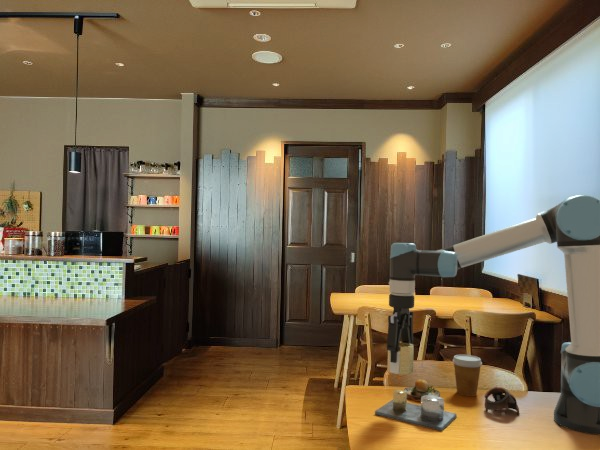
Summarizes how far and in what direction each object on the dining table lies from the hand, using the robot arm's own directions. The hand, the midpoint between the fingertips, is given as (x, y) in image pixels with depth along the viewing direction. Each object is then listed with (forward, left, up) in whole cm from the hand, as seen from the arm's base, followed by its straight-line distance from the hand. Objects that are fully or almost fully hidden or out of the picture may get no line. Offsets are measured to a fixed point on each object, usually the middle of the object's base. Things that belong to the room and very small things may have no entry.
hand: (399, 370), depth 147 cm
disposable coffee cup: (-11, -31, -13) cm, 35 cm away
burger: (0, -18, -13) cm, 22 cm away
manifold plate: (-5, 0, -12) cm, 14 cm away
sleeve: (0, 0, 0) cm, 0 cm away
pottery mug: (-25, -21, -13) cm, 34 cm away
